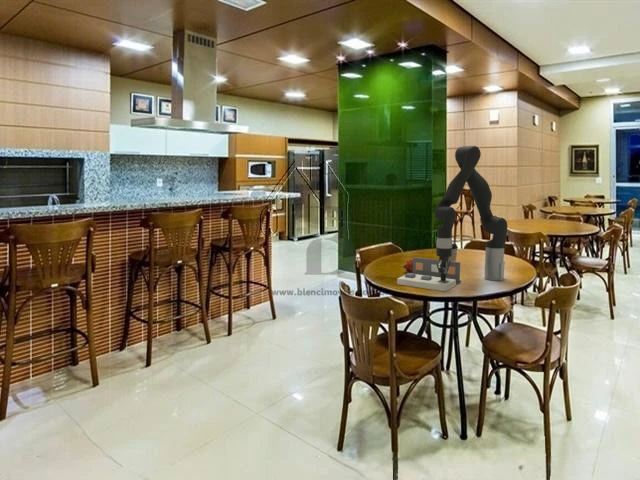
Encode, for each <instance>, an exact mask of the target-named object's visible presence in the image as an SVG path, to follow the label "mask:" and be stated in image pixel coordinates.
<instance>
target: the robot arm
mask: <svg viewBox="0 0 640 480" xmlns="http://www.w3.org/2000/svg"><path fill="white" fill-rule="evenodd" d="M454 153H455V154H454V158H455V161H456V164H457V165H458V167H459V169H460V171H459V172H458V173H457V174H456V175H455V177H453V178H452V180H451V181H450V183H449V184H448V186H447V188H446V190H445V194H444V196H443V197H442V199H441V200H440V201H439V202H438V204H437V205H436V208H435V209H434V217H435V219H436V220H438V221H443V223H442V225H439V226H438V227H437V231H436V232H437V233H436V246H435V247H436V248H435V249H436V253H435V254H436V256H437V257H439V258H438V260H439V264H437V268H438V271H439V273H441V281H445V280H446V273H447V271H448V269H449V266H450V262H451V261H450V260H449V257H450V256H452V243H453V227H454V224H455V221H456V217H457V213H456V210H455V208H454V207H451V206H452V205H455V204H457V203H458V201H459V200H460V197H461V195H462V192H463V189H464V187H465V185H466V183H467V186H468V189H469V190H470V194H471V196H472V198H473V200H474V202H475V205H476V208H477V211H478V213H479V218H480V221H481V224H482V228H483V230H484V231H485V233H487V234H489V235H492V239H490V240H486V242H485V253H484V255H485V257H484V279H485V280H487V281H488V280H489V281H499V282H500V281H502V280H503V279H504V278H505V265H506V264H505V263H506V261H504V258H505V245H506V242H507V236H508V235H507V234H508V222H507V220H506V219H505V218H504V217H497V216H494V215H493V212H492V208H491V203H492V197H493V193H492V190H491V188H490V185H489V183H488V181H487V180H486V179H485V178H484V177H483V176H482V175H481V174H480V172H478V171H477V170H476V166H477V165H478V163H479V161H480V159H481V155H482V154H481V150H480V148H479V147H478V146H476V145H467V146H466V145H465V146H458V147H457V148H456V150H455V152H454Z"/></svg>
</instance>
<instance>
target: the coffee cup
mask: <svg viewBox="0 0 640 480" xmlns="http://www.w3.org/2000/svg"><path fill="white" fill-rule="evenodd" d="M458 249H459V246H458V245H457V243H453V242H452V256H450V257H449V260H450V261H453V262H457V255H458V254H457V253H458V252H457V251H458Z"/></svg>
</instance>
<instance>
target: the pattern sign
mask: <svg viewBox="0 0 640 480" xmlns="http://www.w3.org/2000/svg"><path fill="white" fill-rule="evenodd" d="M412 260H413V272H412V273H413V274H418V275H428V276H433V277H440V278H441V273H439V271H438V268H437V264H439V259H433V258H424V257H414V256H413V257H412ZM446 278H448V279H455V280H456V285H459V284H460V283H462V280H461V279H460V278H461V261H460V262H459V261H456V262H453V261H451V262H450V266H449V269H448V271H447V273H446Z"/></svg>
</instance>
